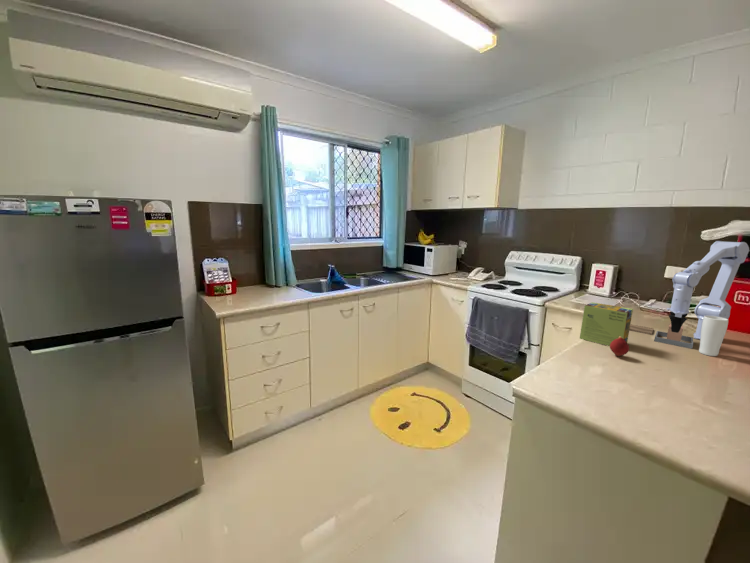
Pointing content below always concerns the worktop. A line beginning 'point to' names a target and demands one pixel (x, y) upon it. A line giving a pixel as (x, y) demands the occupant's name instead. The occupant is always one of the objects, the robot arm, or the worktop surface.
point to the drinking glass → (712, 334)
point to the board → (641, 329)
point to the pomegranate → (619, 346)
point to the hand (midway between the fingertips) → (675, 330)
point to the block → (674, 334)
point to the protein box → (605, 323)
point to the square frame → (673, 342)
